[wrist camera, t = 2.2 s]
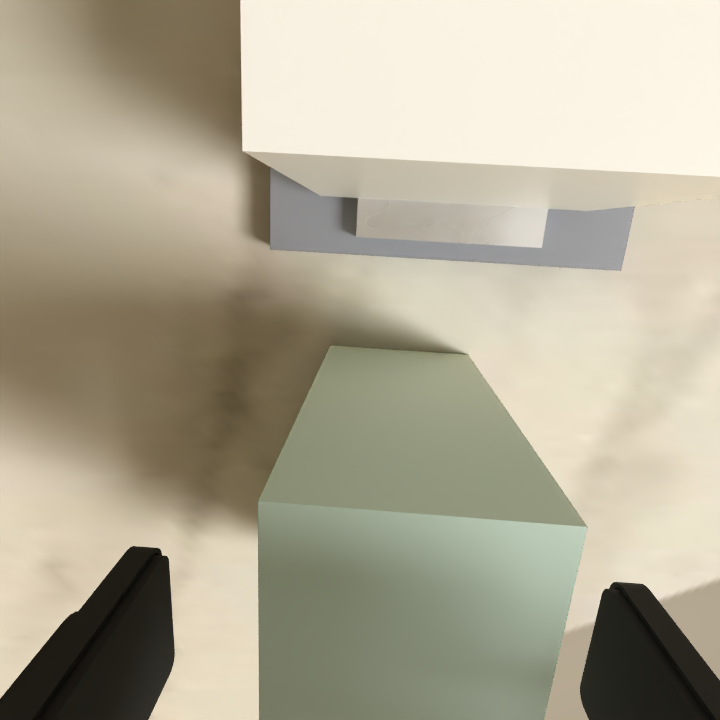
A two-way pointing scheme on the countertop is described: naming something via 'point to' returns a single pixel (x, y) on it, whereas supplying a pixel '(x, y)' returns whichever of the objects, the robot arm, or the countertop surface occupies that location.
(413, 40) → the board
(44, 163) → the countertop surface
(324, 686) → the block
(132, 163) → the countertop surface
